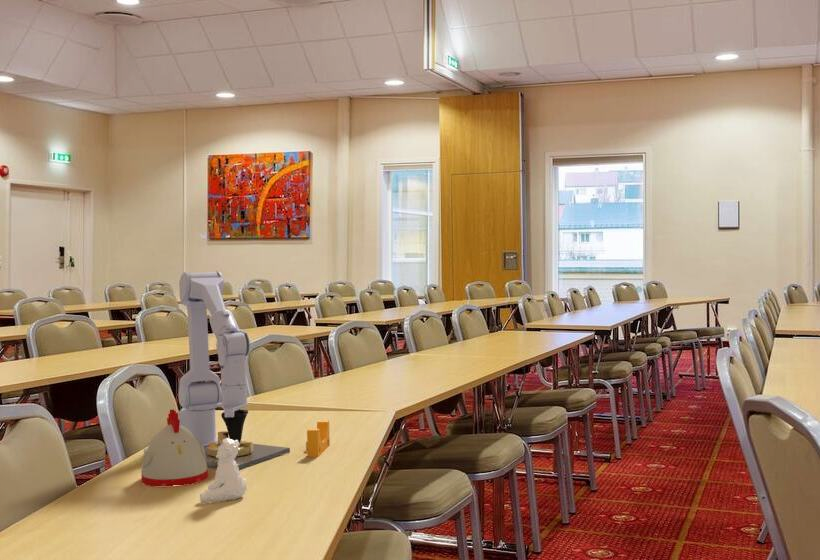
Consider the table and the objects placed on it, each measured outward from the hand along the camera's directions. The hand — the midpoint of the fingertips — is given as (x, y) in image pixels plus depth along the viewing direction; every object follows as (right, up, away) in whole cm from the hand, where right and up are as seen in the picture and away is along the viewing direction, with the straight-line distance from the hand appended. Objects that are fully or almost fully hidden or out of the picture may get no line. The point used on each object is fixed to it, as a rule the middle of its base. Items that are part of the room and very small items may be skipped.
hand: (235, 442), depth 212 cm
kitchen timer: (-11, -6, -14) cm, 18 cm away
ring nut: (-2, -3, +5) cm, 7 cm away
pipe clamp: (+17, -4, +10) cm, 21 cm away
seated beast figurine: (+4, -6, -30) cm, 30 cm away
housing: (-2, -4, +6) cm, 7 cm away
